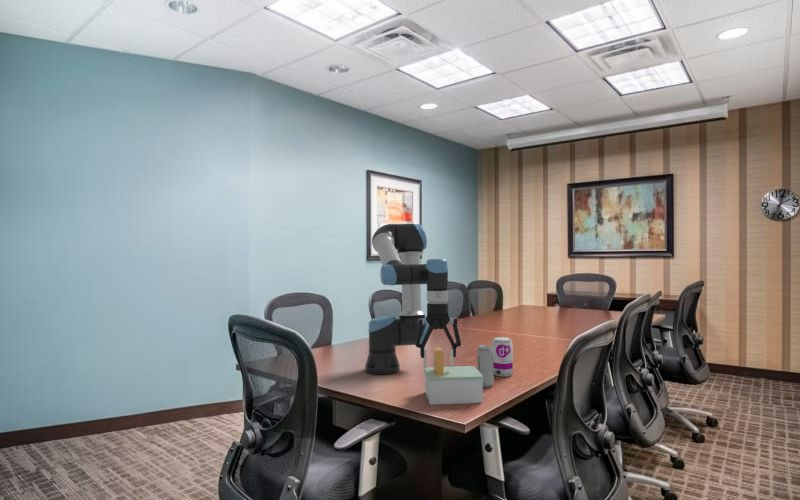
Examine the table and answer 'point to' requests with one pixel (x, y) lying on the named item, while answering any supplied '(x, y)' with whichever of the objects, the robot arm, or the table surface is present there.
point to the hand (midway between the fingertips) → (438, 366)
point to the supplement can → (502, 356)
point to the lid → (450, 370)
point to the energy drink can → (485, 364)
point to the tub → (454, 391)
